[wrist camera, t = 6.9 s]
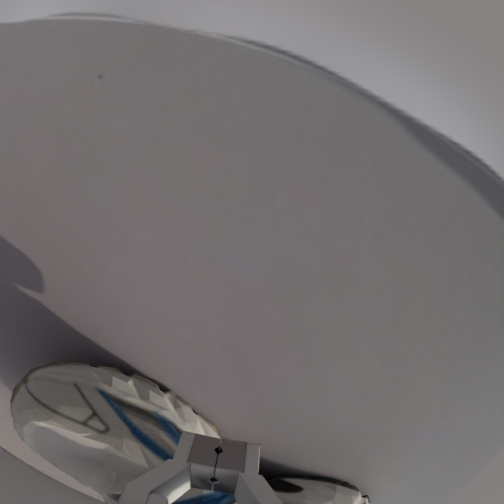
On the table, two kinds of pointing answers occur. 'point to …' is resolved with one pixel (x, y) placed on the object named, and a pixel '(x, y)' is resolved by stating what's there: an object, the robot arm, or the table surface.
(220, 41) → the table surface
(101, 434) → the athletic shoe
